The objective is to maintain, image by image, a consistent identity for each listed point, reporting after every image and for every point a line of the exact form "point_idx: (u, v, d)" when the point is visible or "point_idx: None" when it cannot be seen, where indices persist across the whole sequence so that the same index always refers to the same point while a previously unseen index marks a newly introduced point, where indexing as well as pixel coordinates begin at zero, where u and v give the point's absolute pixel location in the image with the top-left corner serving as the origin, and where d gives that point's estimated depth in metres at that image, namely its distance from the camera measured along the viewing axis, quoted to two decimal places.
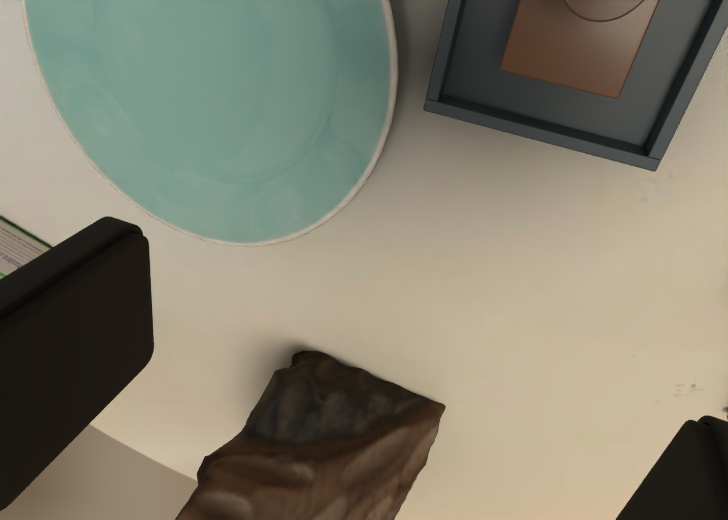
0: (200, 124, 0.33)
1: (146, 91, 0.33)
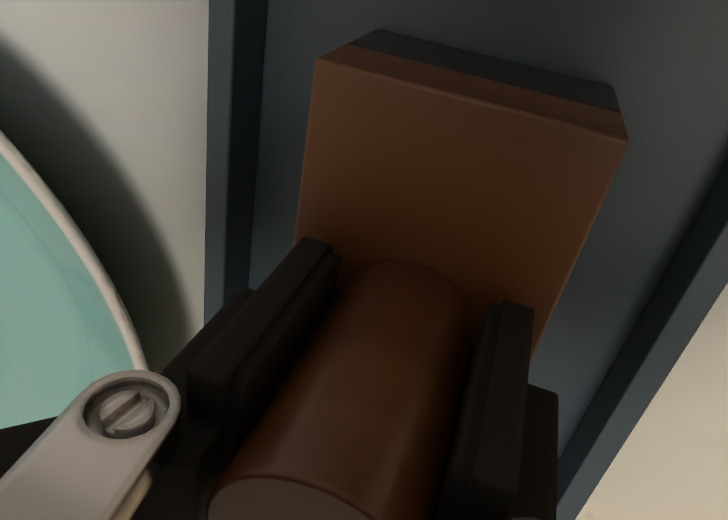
0: None
1: None
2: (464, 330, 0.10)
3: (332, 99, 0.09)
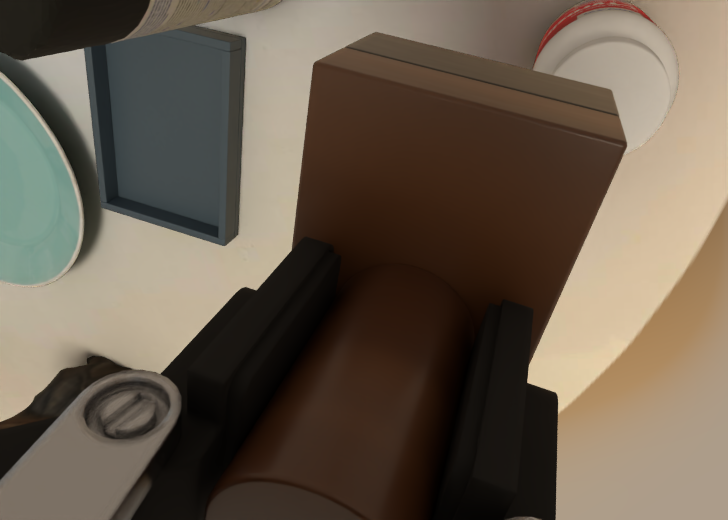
0: None
1: None
2: (462, 333, 0.10)
3: (330, 103, 0.09)
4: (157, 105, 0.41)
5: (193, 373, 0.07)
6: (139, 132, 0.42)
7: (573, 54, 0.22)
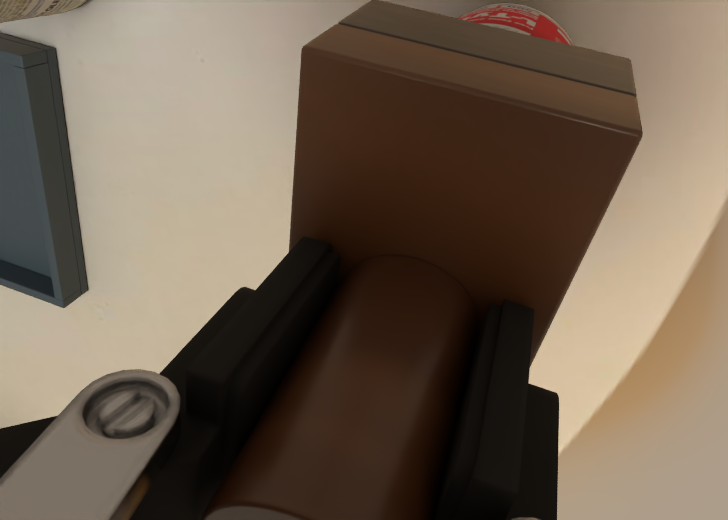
0: None
1: None
2: (465, 328, 0.09)
3: (322, 90, 0.09)
4: None
5: (192, 372, 0.07)
6: None
7: None
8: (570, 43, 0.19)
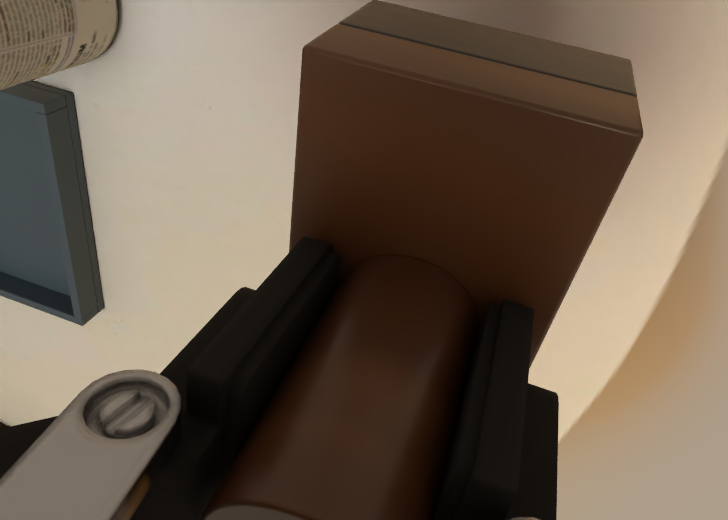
0: None
1: None
2: (465, 328, 0.09)
3: (322, 90, 0.09)
4: None
5: (192, 373, 0.07)
6: None
7: None
8: None
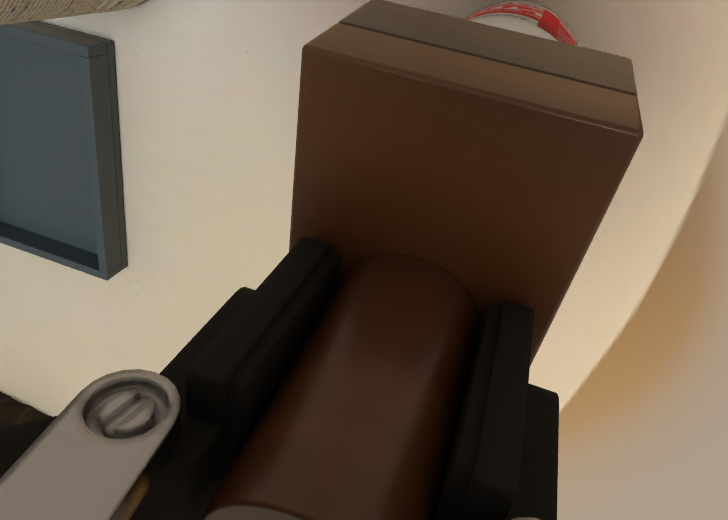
0: None
1: None
2: (465, 327, 0.09)
3: (322, 89, 0.09)
4: (23, 117, 0.35)
5: (192, 372, 0.07)
6: (7, 147, 0.37)
7: None
8: (570, 34, 0.23)
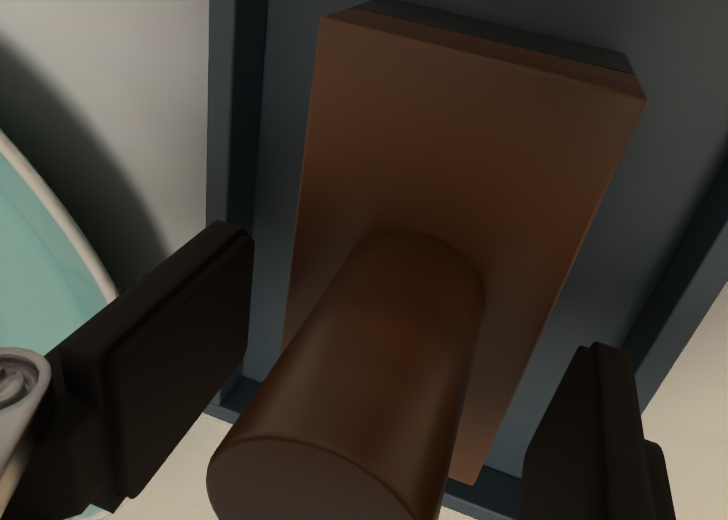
0: None
1: None
2: (473, 301, 0.09)
3: (337, 60, 0.09)
4: None
5: (63, 349, 0.07)
6: None
7: None
8: None
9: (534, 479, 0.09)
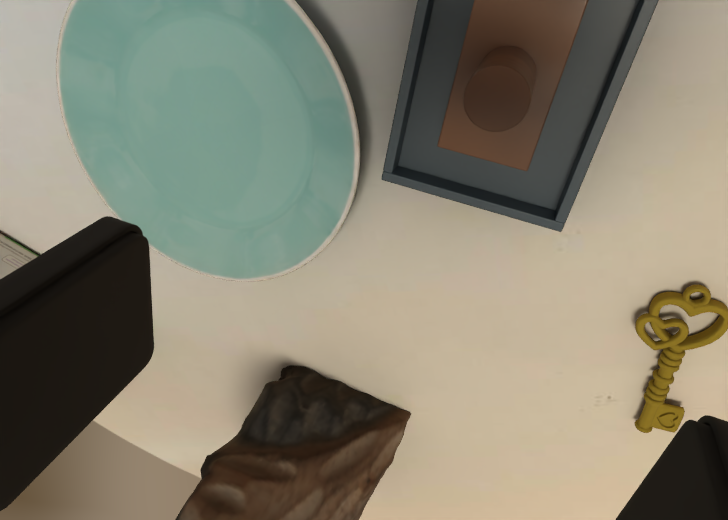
0: (203, 181, 0.40)
1: (158, 154, 0.40)
2: (533, 66, 0.26)
3: None
4: None
5: None
6: None
7: None
8: None
9: None
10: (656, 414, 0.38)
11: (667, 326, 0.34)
